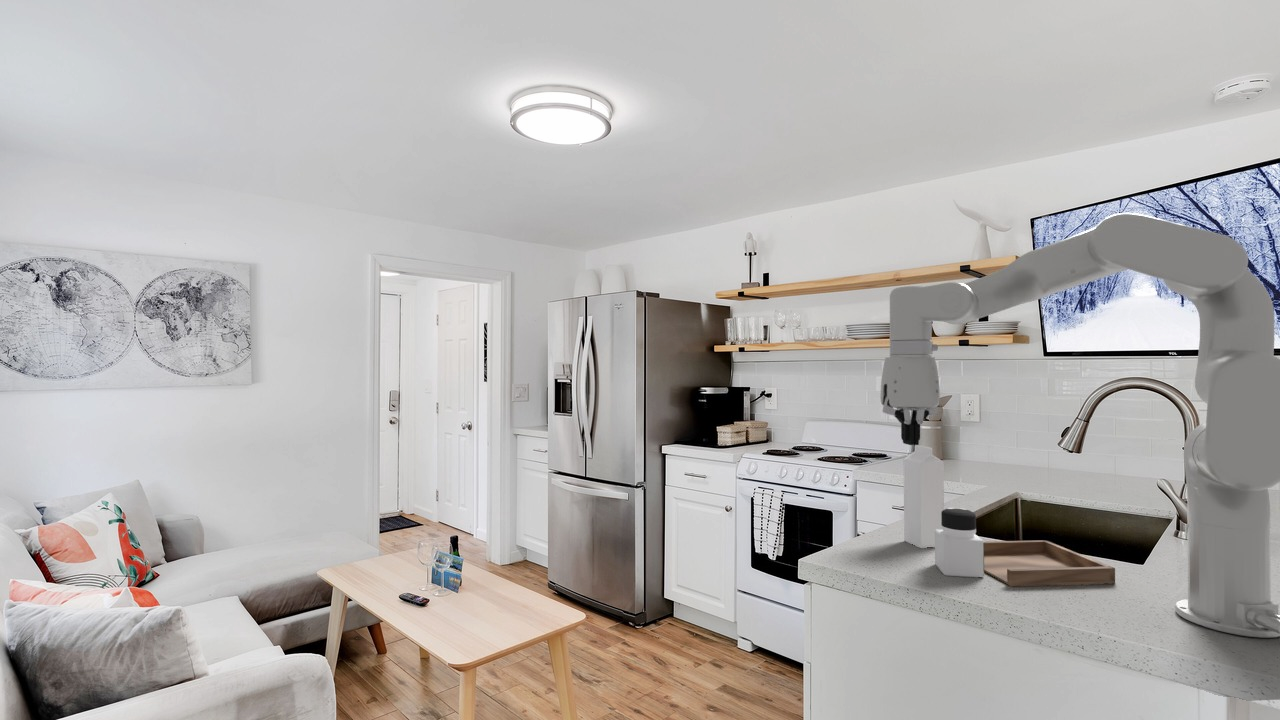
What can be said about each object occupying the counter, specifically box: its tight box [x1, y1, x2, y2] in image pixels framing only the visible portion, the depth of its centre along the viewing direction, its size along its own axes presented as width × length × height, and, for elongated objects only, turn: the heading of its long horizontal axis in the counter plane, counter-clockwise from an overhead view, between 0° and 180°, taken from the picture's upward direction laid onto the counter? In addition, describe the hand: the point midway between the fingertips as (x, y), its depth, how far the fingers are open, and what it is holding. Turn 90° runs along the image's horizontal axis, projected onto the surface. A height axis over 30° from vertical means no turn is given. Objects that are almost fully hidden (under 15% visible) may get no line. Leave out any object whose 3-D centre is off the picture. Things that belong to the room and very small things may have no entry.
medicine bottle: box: [934, 507, 985, 579], centre depth 123 cm, size 7×7×12 cm
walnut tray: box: [984, 539, 1116, 587], centre depth 123 cm, size 18×20×3 cm
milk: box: [903, 444, 945, 549], centre depth 141 cm, size 6×6×22 cm
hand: (910, 443), depth 122 cm, fingers closed
